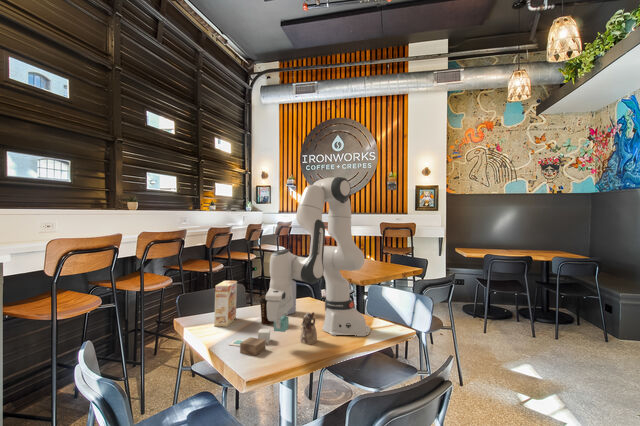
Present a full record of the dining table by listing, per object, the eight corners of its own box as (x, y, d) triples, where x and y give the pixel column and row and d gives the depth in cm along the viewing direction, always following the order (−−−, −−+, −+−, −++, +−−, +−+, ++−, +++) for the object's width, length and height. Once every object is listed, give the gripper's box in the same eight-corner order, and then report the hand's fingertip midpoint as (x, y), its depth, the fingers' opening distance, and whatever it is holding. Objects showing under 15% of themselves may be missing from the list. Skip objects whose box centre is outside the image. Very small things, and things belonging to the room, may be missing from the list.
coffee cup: (278, 321, 169) (279, 295, 170) (274, 326, 161) (275, 299, 162) (261, 320, 170) (262, 294, 171) (257, 325, 162) (257, 298, 162)
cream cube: (270, 339, 143) (270, 329, 143) (268, 343, 138) (268, 332, 138) (259, 339, 143) (259, 329, 143) (257, 343, 138) (258, 332, 138)
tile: (248, 341, 140) (248, 340, 140) (242, 346, 134) (242, 345, 134) (235, 340, 141) (235, 338, 141) (228, 345, 136) (228, 343, 136)
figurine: (297, 339, 143) (298, 311, 143) (312, 337, 146) (313, 310, 146) (303, 345, 137) (304, 315, 137) (319, 343, 139) (319, 314, 140)
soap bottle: (273, 313, 184) (274, 267, 185) (284, 310, 191) (285, 265, 192) (285, 316, 178) (286, 269, 179) (296, 312, 186) (297, 267, 186)
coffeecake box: (228, 326, 159) (229, 285, 160) (213, 326, 159) (214, 285, 160) (236, 318, 174) (237, 280, 175) (223, 317, 174) (224, 280, 175)
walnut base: (265, 350, 132) (265, 339, 132) (255, 356, 125) (255, 345, 125) (250, 347, 134) (250, 337, 134) (240, 353, 128) (240, 343, 128)
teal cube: (288, 327, 135) (288, 316, 135) (284, 331, 131) (284, 320, 131) (278, 327, 136) (277, 316, 136) (274, 331, 132) (273, 319, 132)
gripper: (282, 284, 144) (282, 316, 145) (263, 296, 125) (264, 333, 125) (296, 285, 143) (296, 317, 143) (279, 297, 123) (279, 335, 123)
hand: (281, 325), depth 134 cm, fingers closed on teal cube, 4 cm apart
